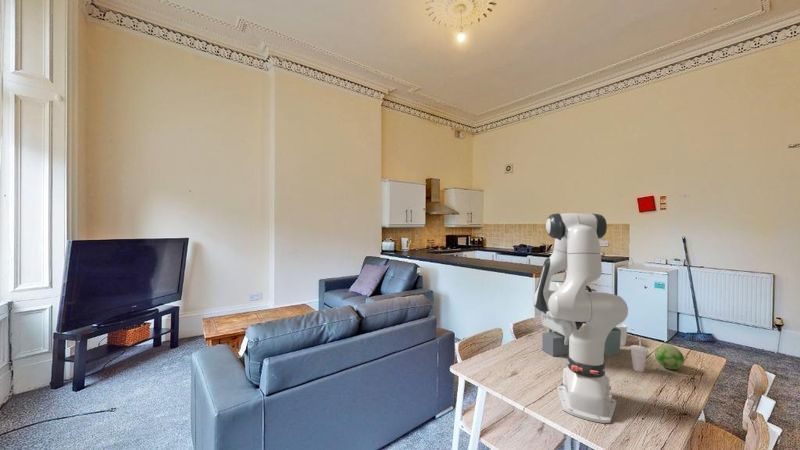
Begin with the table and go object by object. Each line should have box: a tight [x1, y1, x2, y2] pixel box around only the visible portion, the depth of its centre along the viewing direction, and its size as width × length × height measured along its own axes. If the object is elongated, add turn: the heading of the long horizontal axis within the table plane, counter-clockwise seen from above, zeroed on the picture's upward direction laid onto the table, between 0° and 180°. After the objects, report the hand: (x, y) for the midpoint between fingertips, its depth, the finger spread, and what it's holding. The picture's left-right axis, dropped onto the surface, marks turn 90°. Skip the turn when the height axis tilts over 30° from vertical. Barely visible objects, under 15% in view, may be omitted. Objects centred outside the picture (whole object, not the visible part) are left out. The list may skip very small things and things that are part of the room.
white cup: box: [615, 322, 628, 347], centre depth 165 cm, size 8×8×10 cm
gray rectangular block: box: [541, 331, 569, 358], centre depth 154 cm, size 12×7×9 cm, turn 104°
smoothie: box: [629, 337, 649, 373], centre depth 136 cm, size 6×6×14 cm
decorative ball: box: [654, 344, 685, 370], centre depth 138 cm, size 10×10×10 cm
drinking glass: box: [604, 327, 621, 356], centre depth 155 cm, size 10×10×12 cm
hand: (558, 340), depth 154 cm, fingers open, 8 cm apart
